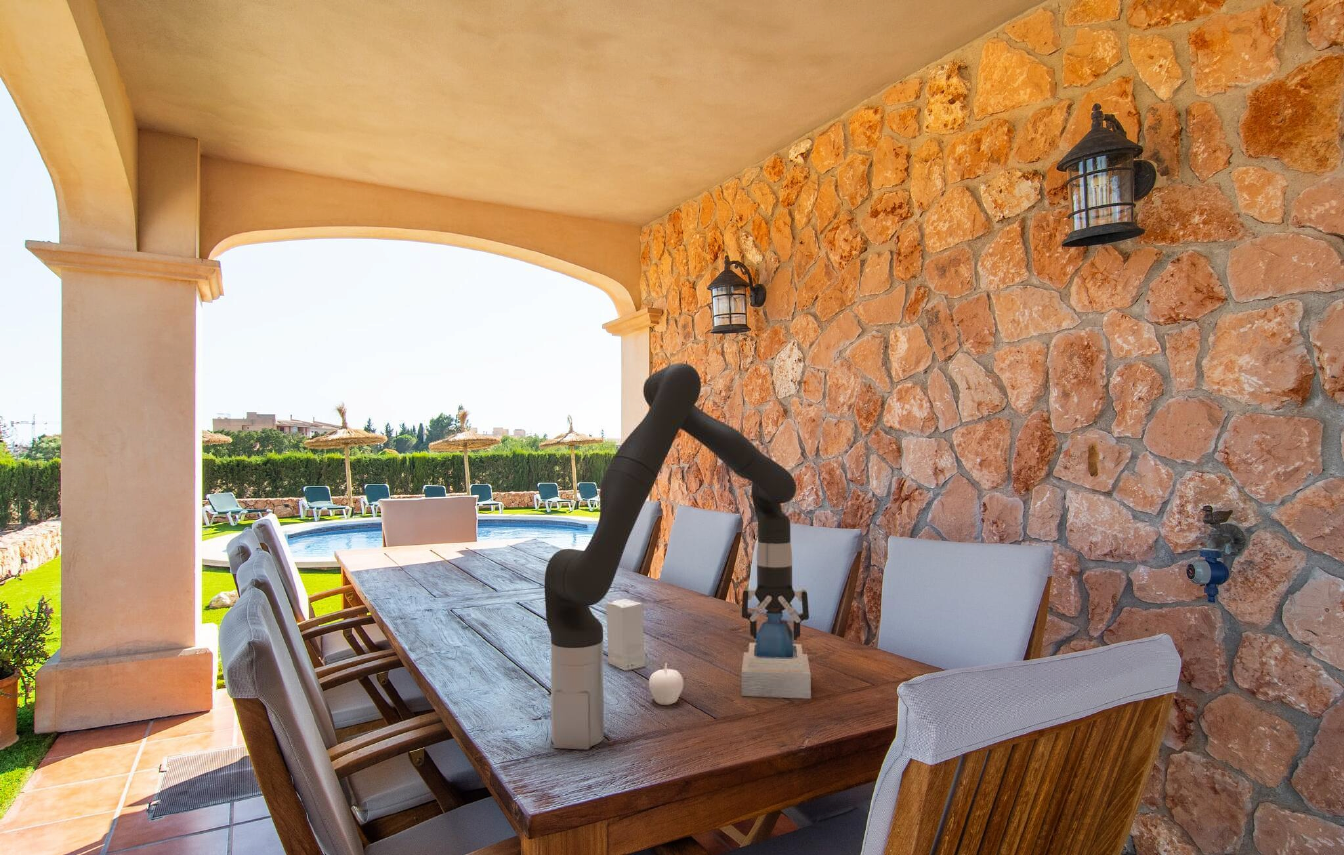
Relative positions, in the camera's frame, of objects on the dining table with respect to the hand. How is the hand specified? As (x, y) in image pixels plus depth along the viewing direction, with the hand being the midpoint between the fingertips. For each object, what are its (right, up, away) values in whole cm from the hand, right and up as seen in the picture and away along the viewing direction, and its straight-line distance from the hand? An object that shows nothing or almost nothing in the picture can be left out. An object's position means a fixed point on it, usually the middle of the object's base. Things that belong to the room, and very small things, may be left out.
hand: (775, 638), depth 155 cm
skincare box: (-33, -11, +15) cm, 38 cm away
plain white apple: (-23, -10, -9) cm, 27 cm away
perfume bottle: (0, -5, 0) cm, 5 cm away
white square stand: (0, -10, 0) cm, 10 cm away
